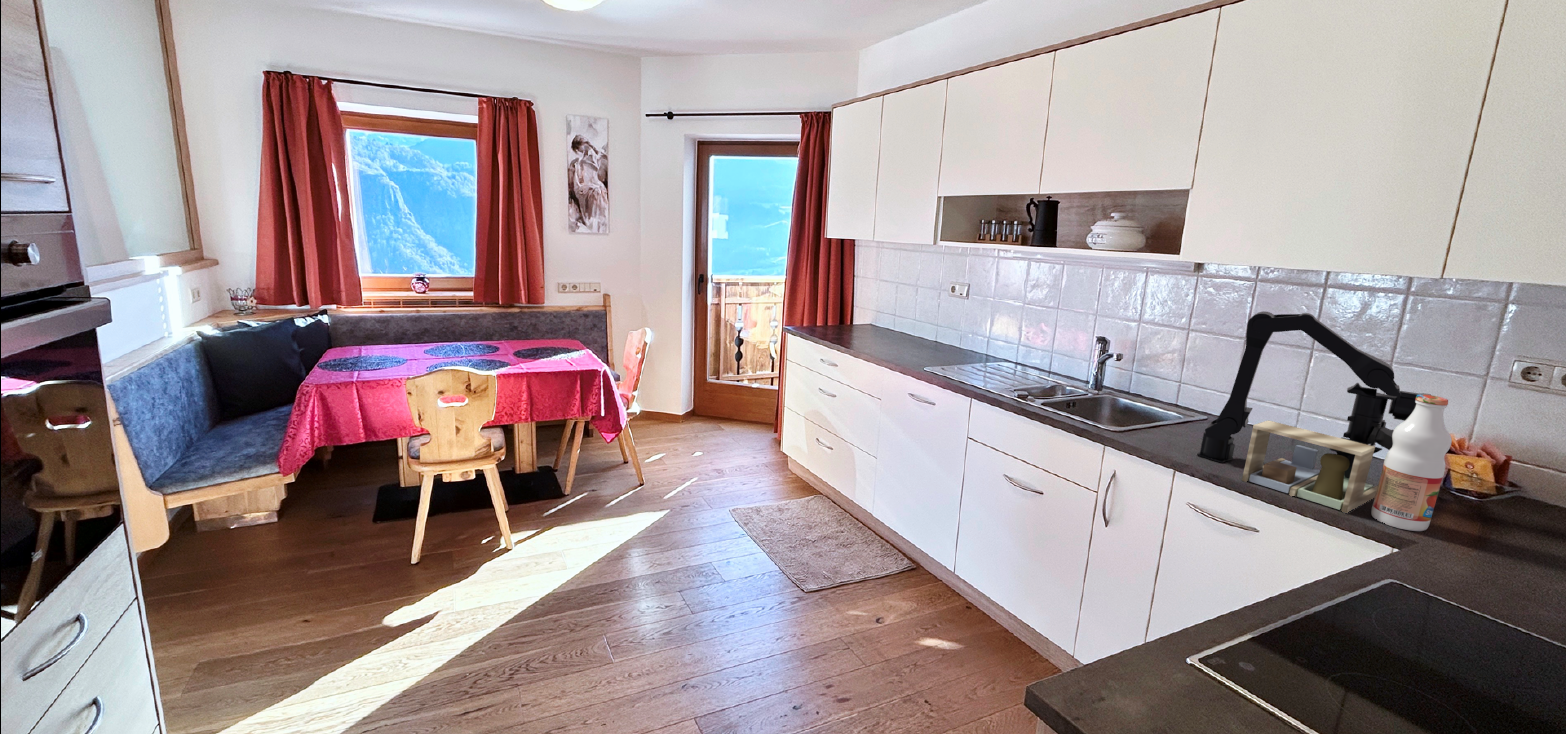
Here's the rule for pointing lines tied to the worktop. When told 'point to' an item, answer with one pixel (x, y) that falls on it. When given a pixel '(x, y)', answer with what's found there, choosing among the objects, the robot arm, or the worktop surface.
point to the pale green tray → (1321, 499)
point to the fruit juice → (1414, 467)
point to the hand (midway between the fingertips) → (1351, 476)
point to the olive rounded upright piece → (1331, 476)
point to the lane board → (1361, 451)
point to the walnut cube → (1279, 472)
